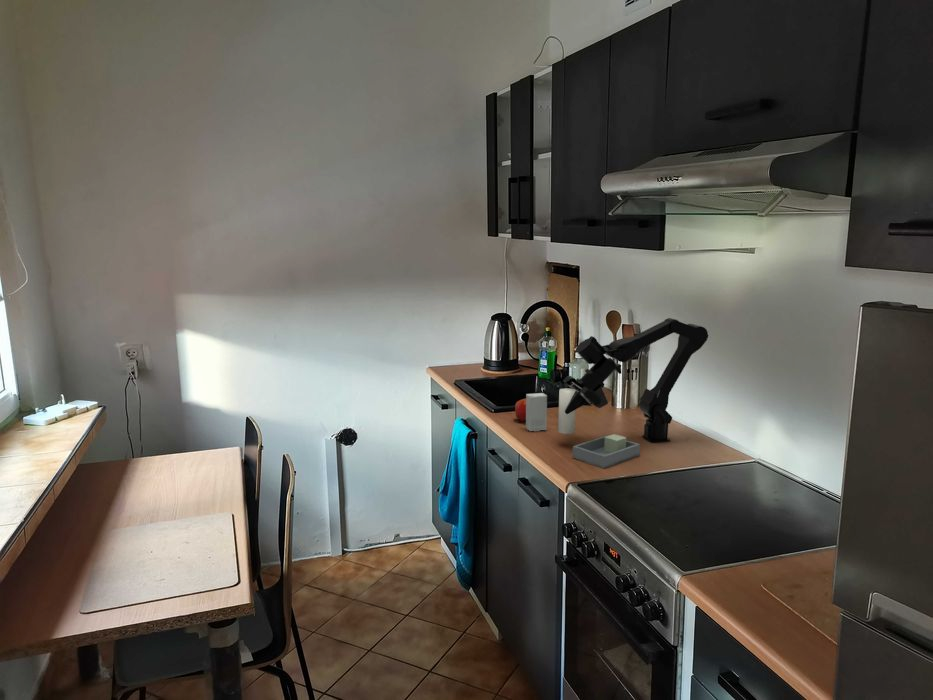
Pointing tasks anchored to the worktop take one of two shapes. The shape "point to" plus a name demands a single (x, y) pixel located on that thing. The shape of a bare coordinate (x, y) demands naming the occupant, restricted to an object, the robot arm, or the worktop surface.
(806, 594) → the worktop surface
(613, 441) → the green cube
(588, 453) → the tote
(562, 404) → the white cylinder
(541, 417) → the skincare box
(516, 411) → the apple
